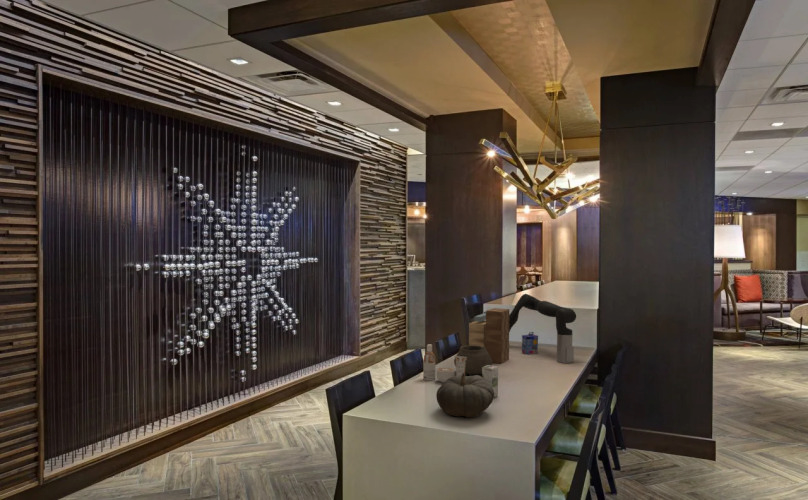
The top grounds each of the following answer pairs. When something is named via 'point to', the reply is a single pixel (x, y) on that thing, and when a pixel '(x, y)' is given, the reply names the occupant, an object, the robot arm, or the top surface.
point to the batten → (480, 317)
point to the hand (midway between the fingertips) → (487, 313)
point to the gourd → (465, 395)
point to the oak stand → (477, 333)
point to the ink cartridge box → (530, 343)
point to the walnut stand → (497, 334)
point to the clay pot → (474, 358)
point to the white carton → (491, 377)
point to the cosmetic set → (441, 372)
